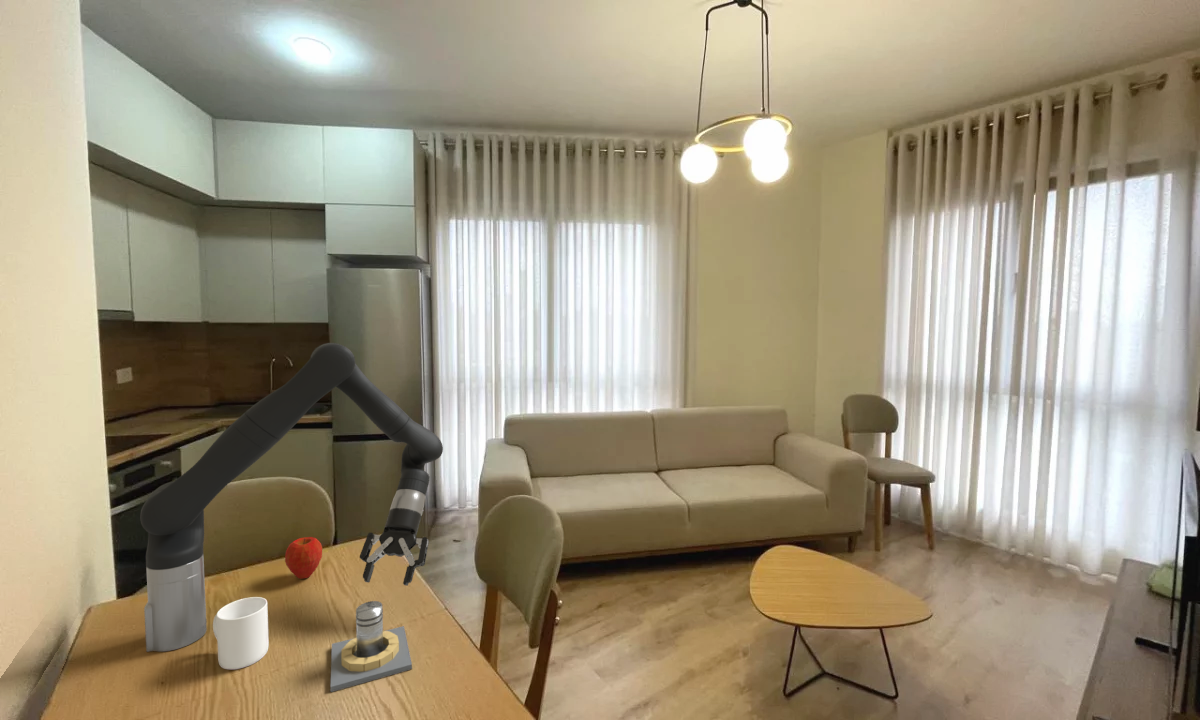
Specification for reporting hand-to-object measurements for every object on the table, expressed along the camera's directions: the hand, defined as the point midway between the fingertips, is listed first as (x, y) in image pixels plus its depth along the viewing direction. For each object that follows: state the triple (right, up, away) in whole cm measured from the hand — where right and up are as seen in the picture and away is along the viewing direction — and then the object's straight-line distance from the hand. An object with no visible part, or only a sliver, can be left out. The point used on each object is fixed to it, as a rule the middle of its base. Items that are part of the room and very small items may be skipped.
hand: (386, 583), depth 113 cm
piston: (+2, -9, -11) cm, 15 cm away
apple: (-30, -8, +20) cm, 37 cm away
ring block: (+2, -10, -12) cm, 15 cm away
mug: (-25, -10, -11) cm, 29 cm away
